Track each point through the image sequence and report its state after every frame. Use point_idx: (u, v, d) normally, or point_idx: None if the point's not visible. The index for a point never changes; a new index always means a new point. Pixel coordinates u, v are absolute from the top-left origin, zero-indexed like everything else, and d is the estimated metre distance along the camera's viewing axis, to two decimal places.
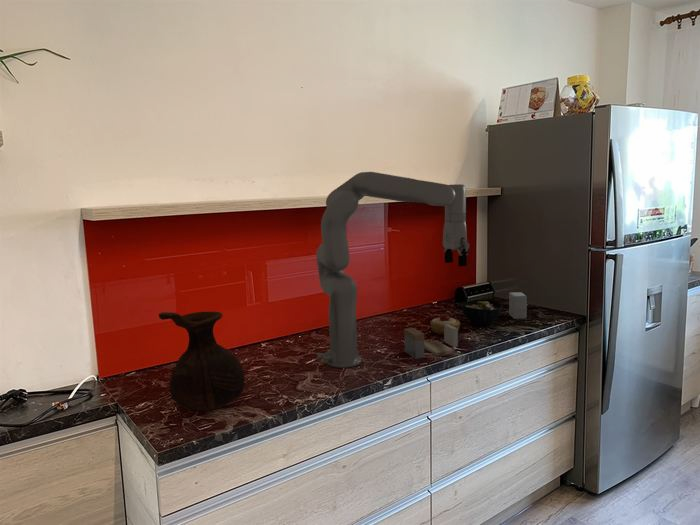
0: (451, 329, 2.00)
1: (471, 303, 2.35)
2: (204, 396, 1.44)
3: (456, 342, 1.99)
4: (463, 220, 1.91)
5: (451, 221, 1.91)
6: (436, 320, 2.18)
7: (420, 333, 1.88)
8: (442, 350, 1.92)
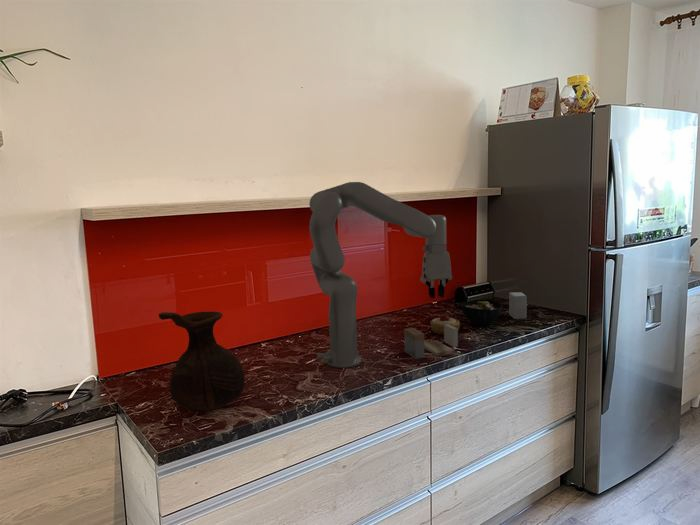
0: (451, 329, 2.00)
1: (471, 303, 2.35)
2: (204, 396, 1.44)
3: (456, 342, 1.99)
4: None
5: (445, 251, 1.93)
6: (436, 320, 2.18)
7: (420, 333, 1.88)
8: (442, 350, 1.92)
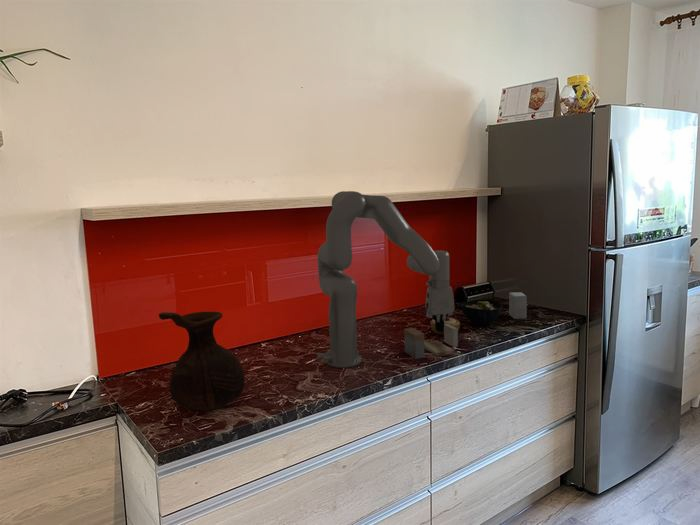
0: (451, 329, 2.00)
1: (471, 303, 2.35)
2: (204, 396, 1.44)
3: (456, 342, 1.99)
4: None
5: (448, 286, 1.96)
6: None
7: (420, 333, 1.88)
8: (442, 350, 1.92)
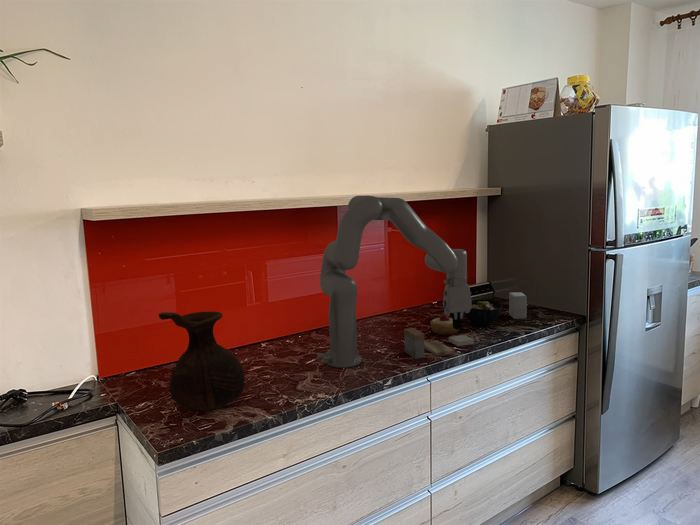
0: (470, 338, 2.03)
1: (471, 303, 2.35)
2: (204, 396, 1.44)
3: (461, 344, 2.00)
4: None
5: (466, 284, 1.98)
6: (436, 320, 2.18)
7: (420, 333, 1.88)
8: (442, 350, 1.92)
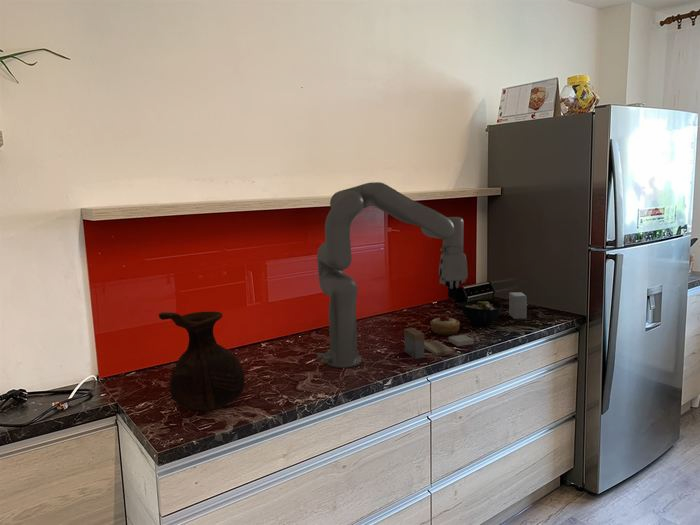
0: (470, 338, 2.03)
1: (471, 303, 2.35)
2: (204, 396, 1.44)
3: (461, 344, 2.00)
4: None
5: (462, 253, 1.96)
6: (436, 320, 2.18)
7: (420, 333, 1.88)
8: (442, 350, 1.92)
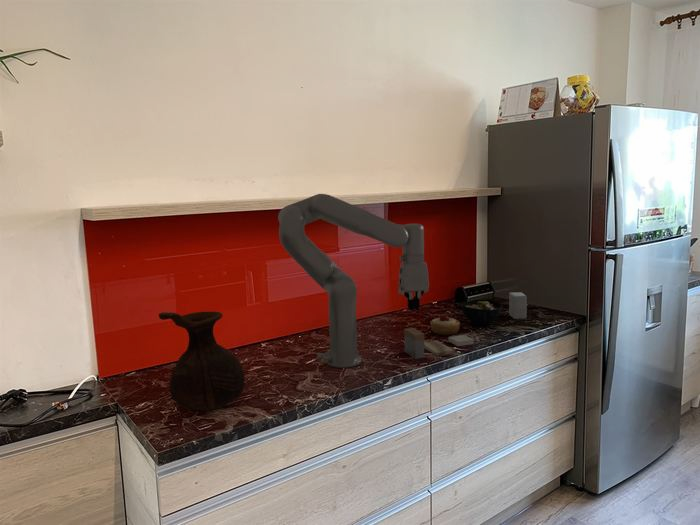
0: (470, 338, 2.03)
1: (471, 303, 2.35)
2: (204, 396, 1.44)
3: (461, 344, 2.00)
4: None
5: (422, 261, 1.85)
6: (436, 320, 2.18)
7: (420, 333, 1.88)
8: (442, 350, 1.92)
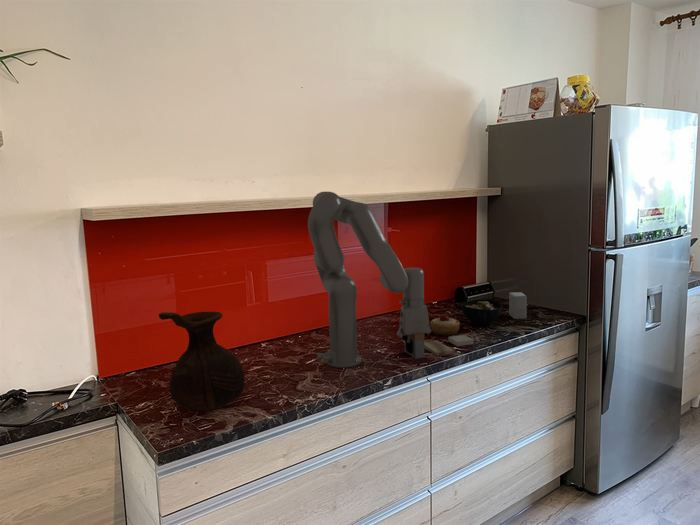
0: (470, 338, 2.03)
1: (471, 303, 2.35)
2: (204, 396, 1.44)
3: (461, 344, 2.00)
4: None
5: (422, 305, 1.88)
6: (436, 320, 2.18)
7: (420, 333, 1.88)
8: (442, 350, 1.92)
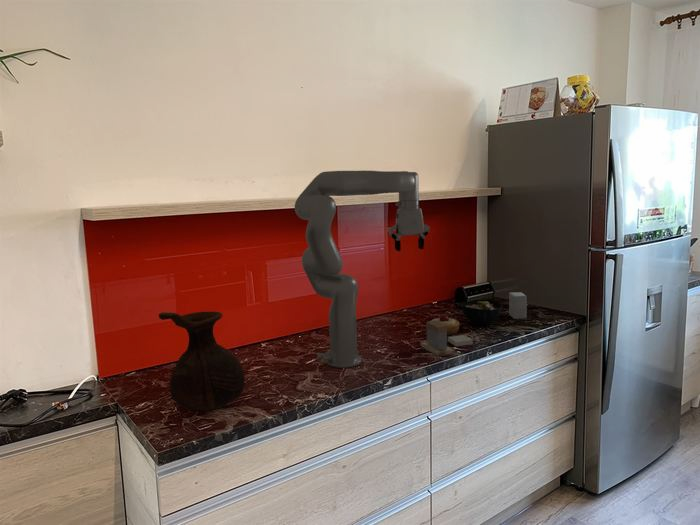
0: (469, 339, 2.03)
1: (471, 303, 2.35)
2: (204, 396, 1.44)
3: (459, 344, 2.00)
4: None
5: (417, 207, 1.98)
6: (436, 320, 2.17)
7: (443, 325, 1.92)
8: (442, 350, 1.92)
